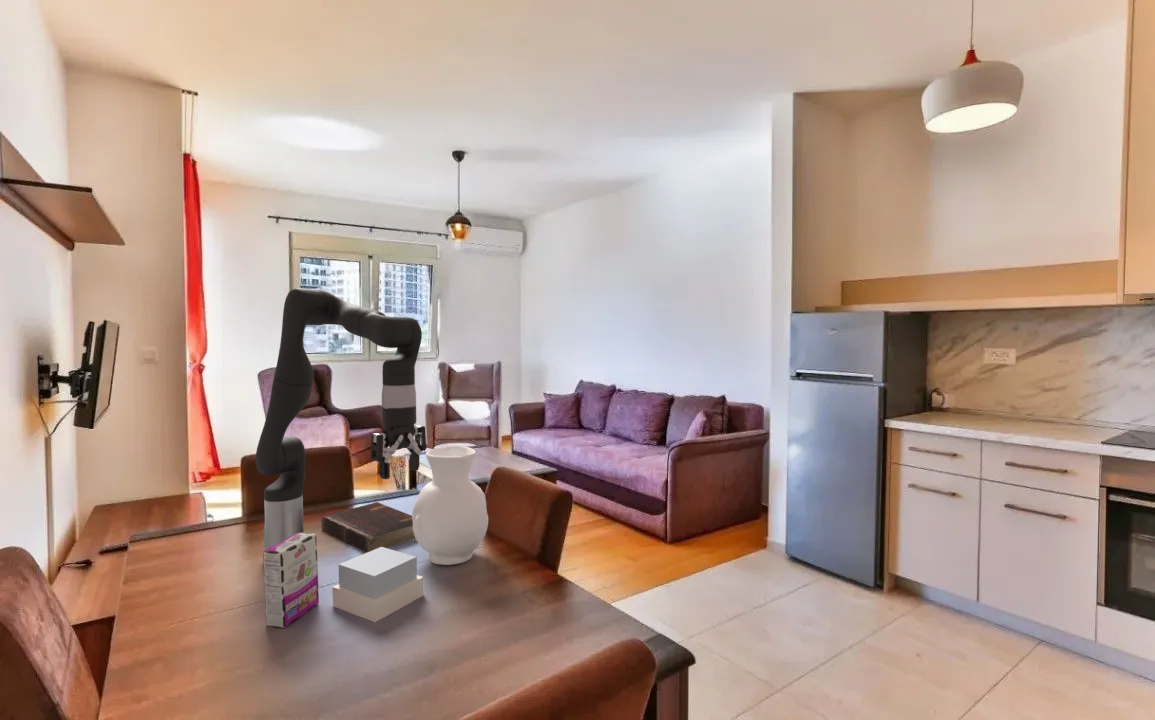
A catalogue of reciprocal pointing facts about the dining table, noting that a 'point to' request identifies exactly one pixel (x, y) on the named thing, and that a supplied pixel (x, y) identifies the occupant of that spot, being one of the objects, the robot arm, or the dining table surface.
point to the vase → (450, 508)
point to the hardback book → (370, 526)
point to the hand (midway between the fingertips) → (400, 474)
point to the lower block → (377, 600)
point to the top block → (377, 572)
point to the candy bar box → (290, 579)
